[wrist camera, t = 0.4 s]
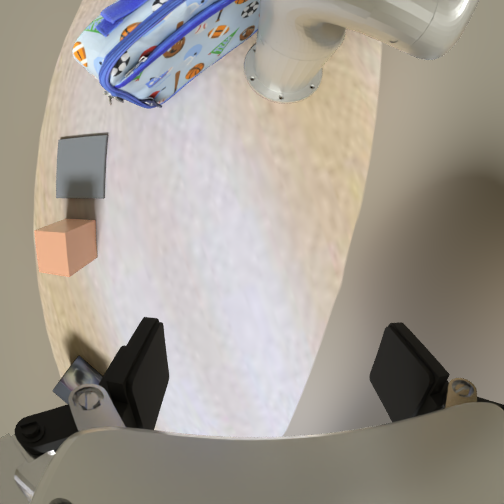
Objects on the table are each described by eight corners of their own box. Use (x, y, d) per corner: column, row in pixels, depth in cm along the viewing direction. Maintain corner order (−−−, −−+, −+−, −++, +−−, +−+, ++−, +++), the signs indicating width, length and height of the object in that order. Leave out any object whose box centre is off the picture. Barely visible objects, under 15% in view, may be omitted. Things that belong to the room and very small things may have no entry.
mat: (60, 140, 39) (58, 139, 39) (107, 135, 40) (106, 135, 39) (58, 197, 43) (56, 198, 42) (104, 198, 43) (103, 198, 43)
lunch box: (152, 129, 40) (82, 102, 19) (116, 93, 38) (39, 57, 17) (274, 26, 36) (294, -53, 14) (233, -4, 33) (228, -84, 12)
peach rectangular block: (66, 218, 44) (34, 230, 34) (95, 220, 44) (65, 232, 35) (68, 254, 46) (39, 271, 36) (97, 257, 46) (69, 276, 37)
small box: (113, 382, 55) (98, 412, 45) (102, 392, 56) (87, 420, 46) (79, 354, 53) (59, 381, 43) (70, 365, 54) (51, 391, 44)
